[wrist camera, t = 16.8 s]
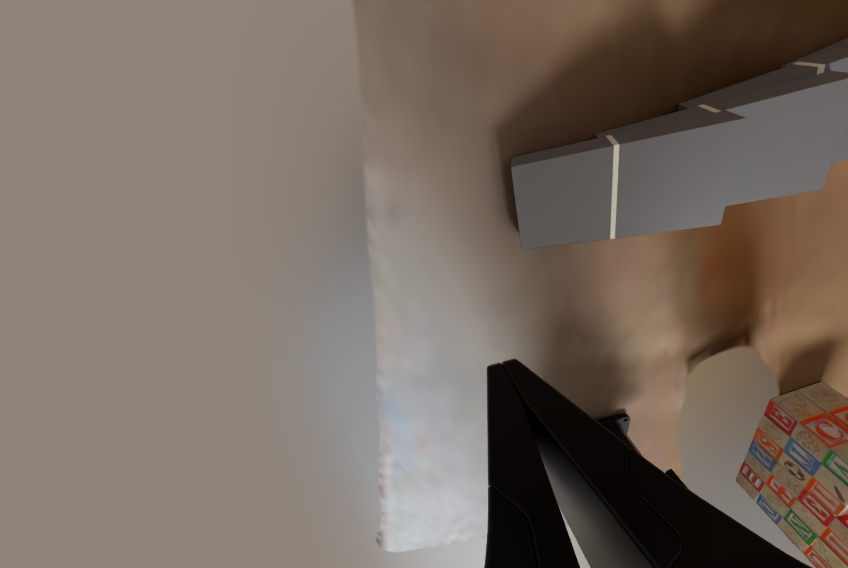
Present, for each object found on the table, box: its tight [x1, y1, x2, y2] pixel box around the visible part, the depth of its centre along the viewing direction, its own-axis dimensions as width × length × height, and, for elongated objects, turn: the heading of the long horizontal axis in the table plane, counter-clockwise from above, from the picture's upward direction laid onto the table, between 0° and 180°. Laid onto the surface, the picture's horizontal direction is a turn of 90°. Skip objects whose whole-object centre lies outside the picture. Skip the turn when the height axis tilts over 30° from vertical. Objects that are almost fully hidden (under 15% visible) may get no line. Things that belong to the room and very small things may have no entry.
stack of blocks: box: [736, 382, 848, 568], centre depth 38 cm, size 21×6×12 cm, turn 20°
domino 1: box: [511, 110, 746, 250], centre depth 18 cm, size 5×2×10 cm
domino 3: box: [678, 45, 848, 163], centre depth 17 cm, size 5×2×10 cm
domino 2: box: [595, 71, 848, 206], centre depth 18 cm, size 5×2×10 cm
